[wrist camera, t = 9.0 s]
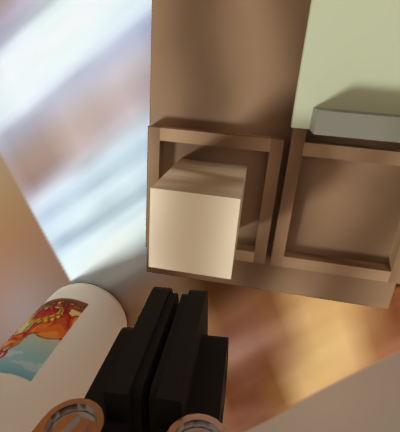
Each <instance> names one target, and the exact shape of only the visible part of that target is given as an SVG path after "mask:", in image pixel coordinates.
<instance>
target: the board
mask: <svg viewBox="0 0 400 432" xmlns="http://www.w3.org/2000/svg"><path fill="white" fill-rule="evenodd" d="M310 5H311V0H152V29H151V80H150V126H148V152H147V208H146V247H147V272H154V273H160V274H166V275H173V276H179V277H186V278H192V279H198V280H205V281H211V282H218V283H224V284H230V285H237V286H243V287H250V288H256V289H262V290H269V291H275V292H281V293H288V294H294V295H301V296H307V297H313V298H320V299H326V300H333V301H339V302H345V303H352V304H358V305H365V306H371V307H377V308H384V309H388V307H389V304H390V301H391V298H392V295H393V292H394V289H395V286H396V284H400V143H397V142H386V141H376V140H366V139H356V138H346V137H335V136H325V135H315V134H313V133H312V132H311V131H310V130H309V129H302V128H291V120H292V114H293V108H294V102H295V95H296V89H297V83H298V77H299V71H300V65H301V59H302V53H303V47H304V41H305V35H306V29H307V23H308V17H309V11H310ZM180 159H190V160H199V161H208V162H217V163H226V164H235V165H244V166H247V172H246V180H245V188H244V196H243V204H242V212H241V220H240V228H239V234H238V239H237V245H236V251H235V257H234V263H233V269H232V275H231V279H225V278H218V277H212V276H205V275H199V274H192V273H186V272H180V271H173V270H167V269H160V268H154V267H149V226H150V188H151V187H152V186H153V185H154V184H155V183H156V182H157V181H158V180H159V179H160V178H161V177H162V176H163V175H164V174H165V173H166V172H167V171H168V170H169V169H171V168H172V167H173V166H174V165H175V164H176V163H177V162H178V161H179V160H180Z"/></svg>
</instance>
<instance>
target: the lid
mask: <svg viewBox="0 0 400 432" xmlns="http://www.w3.org/2000/svg"><path fill="white" fill-rule="evenodd" d="M291 128H302V129H309V130H310V131H311V132H312V133H313V134H315V135H325V136H335V137H346V138H356V139H366V140H376V141H386V142H397V143H400V0H311V5H310V11H309V17H308V23H307V29H306V35H305V41H304V47H303V53H302V59H301V65H300V71H299V77H298V83H297V89H296V95H295V102H294V108H293V114H292V120H291Z"/></svg>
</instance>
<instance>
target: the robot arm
mask: <svg viewBox="0 0 400 432" xmlns="http://www.w3.org/2000/svg"><path fill="white" fill-rule="evenodd" d="M207 330H208V292H207V291H198V290H189V293H188V294H182V297H181V299H180V302H179V298H178V294H177V293H173V291H172V288H162V287H154V288H153V289H152V291H151V293H150V295H149V297H148V299H147V301H146V304H145V306H144V308H143V310H142V312H141V314H140V316H139V318H138V320H137V322H136V324H135V326H134V328H128V327H123V328H122V329H121V330H120V332H119V334H118V336H117V338H116V339H115V341H114V343H113V345H112V347H111V349H110V351H109V353H108V354H107V356H106V358H105V360H104V362H103V364H102V366H101V368H100V369H99V371H98V373H97V375H96V377H95V379H94V381H93V383H92V384H91V386H90V388H89V390H88V392H87V394H86V396H85V398H77V399H70V400H68V401H65V402H62V403H60V404H59V405H57V406H55V407H54V408H52V409H51V410H50V411H49V412H48V413H47V414H46V415H45V416H44V417H43V418H42V419H41V421H40V422H39V423H38V424H37V426H36V427H35V428H34V429H33V431H32V432H228V431H227V430H226V428H225V426H224V425H223V424H222V422H223V412H224V402H225V391H226V380H227V365H228V337H218V336H208V335H207Z"/></svg>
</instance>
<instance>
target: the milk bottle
mask: <svg viewBox="0 0 400 432" xmlns="http://www.w3.org/2000/svg"><path fill="white" fill-rule="evenodd" d="M123 327H127V320H126V315H125V312H124V310H123V308H122V306H121V305H120V303H119V302H118V301H117V300H116V298H115V297H114V296H113V295H111V294H110V293H109V292H108V291H106V290H104V289H102V288H101V287H98V286H95V285H93V284H87V283H75V284H70V285H66V286H64V287H62V288H60V289H59V290H57V291H56V292H55V293H54V294H53V295H52V296H51V297H50V298H49V299H48V300H47V301H46V302H45V303H44V304H43V305H42V306H41V307H40V308H39V309H38V310H37V311H36V312H35V313H34V314H33V315H32V316H31V317H30V318H29V319H28V320H27V321H26V322H25V323H24V324H23V325H22V326H21V327H20V329H18V330H17V331H16V332H15V334H14V335H12V337H11V338H10V339H9V340H8V341H7V342H6V343H5V344H4V345H3V346H2V347H1V348H0V432H32V431H33V429H34V428H35V427H36V426H37V424H38V423H39V422H40V421H41V419H42V418H43V417H44V416H45V415H46V414H47V413H48V412H49V411H50V410H51V409H52V408H54V407H55V406H57V405H59V404H60V403H62V402H65V401H68V400H70V399H77V398H85V396H86V394H87V392H88V390H89V388H90V386H91V384H92V383H93V381H94V379H95V377H96V375H97V373H98V371H99V369H100V368H101V366H102V364H103V362H104V360H105V358H106V356H107V354H108V353H109V351H110V349H111V347H112V345H113V343H114V341H115V339H116V338H117V336H118V334H119V332H120V330H121V329H122V328H123Z"/></svg>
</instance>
